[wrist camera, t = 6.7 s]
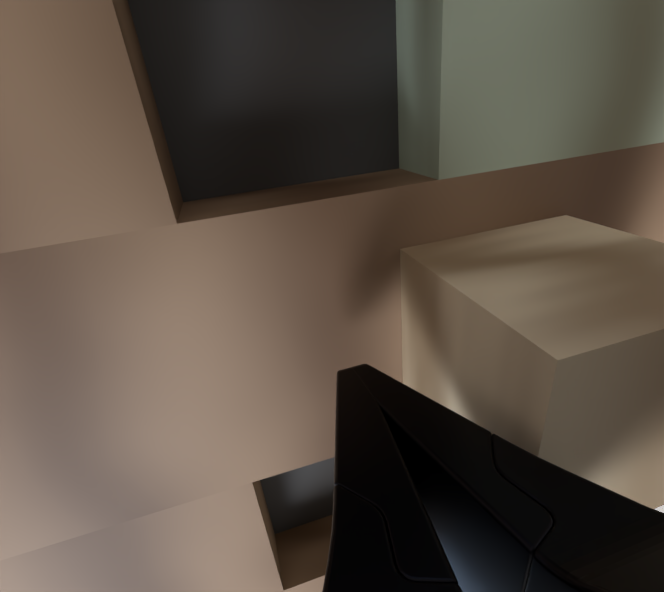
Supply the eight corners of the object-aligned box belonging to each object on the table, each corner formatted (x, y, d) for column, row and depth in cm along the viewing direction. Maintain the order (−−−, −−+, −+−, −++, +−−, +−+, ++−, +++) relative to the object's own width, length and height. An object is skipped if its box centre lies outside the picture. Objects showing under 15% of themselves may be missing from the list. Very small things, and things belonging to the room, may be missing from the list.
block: (403, 401, 12) (515, 566, 8) (400, 248, 10) (557, 359, 5) (539, 361, 13) (707, 486, 9) (566, 214, 11) (811, 285, 6)
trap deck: (28, 636, 15) (-3, 723, 13) (-829, -280, 5) (-1708, -612, 3) (561, 449, 20) (604, 490, 18) (714, -192, 10) (858, -278, 8)
